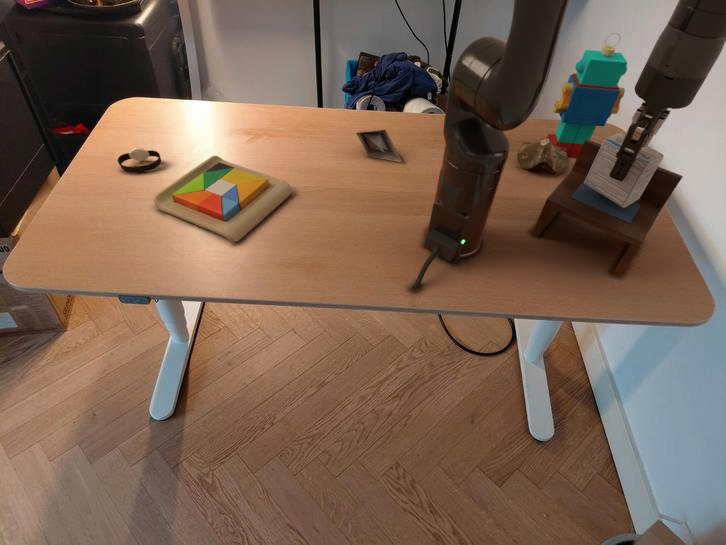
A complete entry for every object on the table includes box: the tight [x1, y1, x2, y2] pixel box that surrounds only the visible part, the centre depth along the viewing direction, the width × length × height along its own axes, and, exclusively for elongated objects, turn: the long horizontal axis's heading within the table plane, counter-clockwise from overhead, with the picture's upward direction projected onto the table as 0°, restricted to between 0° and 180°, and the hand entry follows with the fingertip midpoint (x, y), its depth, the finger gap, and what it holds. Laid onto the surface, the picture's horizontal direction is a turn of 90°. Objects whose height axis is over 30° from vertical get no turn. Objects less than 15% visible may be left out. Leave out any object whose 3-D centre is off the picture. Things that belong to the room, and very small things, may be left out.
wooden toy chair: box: [532, 139, 684, 277], centre depth 81 cm, size 12×16×14 cm
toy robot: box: [546, 32, 628, 158], centre depth 96 cm, size 12×6×25 cm, turn 84°
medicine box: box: [584, 131, 665, 208], centre depth 75 cm, size 8×4×9 cm, turn 35°
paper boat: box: [355, 129, 403, 163], centre depth 98 cm, size 12×6×9 cm
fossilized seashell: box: [516, 138, 570, 175], centre depth 99 cm, size 8×7×10 cm
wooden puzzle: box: [153, 155, 292, 242], centre depth 87 cm, size 18×19×4 cm
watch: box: [117, 147, 162, 174], centre depth 92 cm, size 8×5×4 cm, turn 108°
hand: (622, 169), depth 75 cm, fingers closed on medicine box, 5 cm apart
